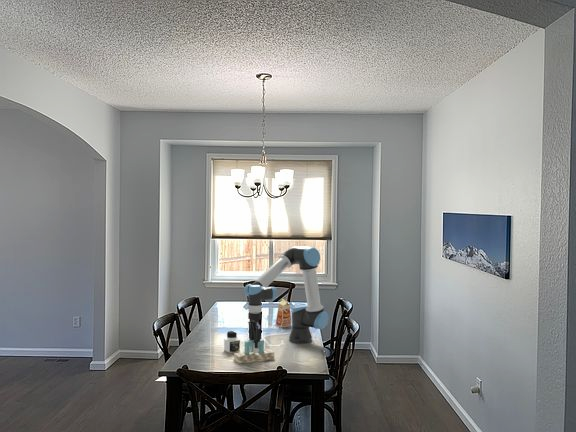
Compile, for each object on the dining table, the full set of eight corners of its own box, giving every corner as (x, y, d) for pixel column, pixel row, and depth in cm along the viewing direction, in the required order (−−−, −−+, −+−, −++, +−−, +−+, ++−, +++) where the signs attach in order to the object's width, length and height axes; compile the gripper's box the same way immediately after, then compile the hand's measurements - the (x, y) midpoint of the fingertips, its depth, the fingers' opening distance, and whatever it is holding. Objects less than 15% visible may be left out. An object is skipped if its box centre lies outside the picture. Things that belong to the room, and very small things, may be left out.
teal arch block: (261, 353, 319) (261, 339, 319) (263, 354, 316) (264, 340, 316) (244, 355, 314) (244, 340, 314) (246, 356, 311) (246, 342, 311)
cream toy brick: (268, 355, 324) (268, 349, 324) (274, 359, 316) (274, 352, 316) (233, 360, 314) (234, 353, 314) (239, 363, 306) (239, 356, 306)
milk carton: (275, 325, 407) (275, 298, 407) (285, 324, 413) (285, 297, 412) (282, 327, 400) (282, 300, 400) (292, 326, 405) (292, 299, 405)
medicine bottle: (229, 353, 328) (229, 333, 328) (223, 350, 334) (224, 331, 334) (239, 351, 333) (240, 331, 332) (233, 348, 338) (234, 329, 338)
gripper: (243, 310, 320) (243, 349, 320) (254, 315, 306) (253, 356, 306) (255, 309, 323) (254, 348, 324) (266, 314, 309) (265, 355, 310)
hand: (254, 352), depth 315 cm, fingers closed on teal arch block, 3 cm apart
